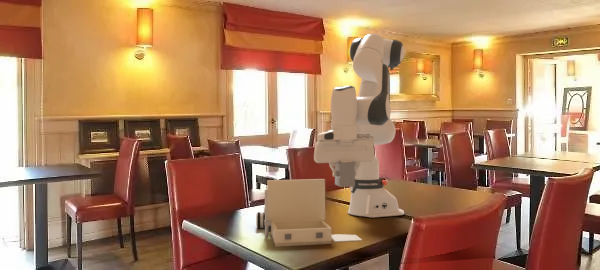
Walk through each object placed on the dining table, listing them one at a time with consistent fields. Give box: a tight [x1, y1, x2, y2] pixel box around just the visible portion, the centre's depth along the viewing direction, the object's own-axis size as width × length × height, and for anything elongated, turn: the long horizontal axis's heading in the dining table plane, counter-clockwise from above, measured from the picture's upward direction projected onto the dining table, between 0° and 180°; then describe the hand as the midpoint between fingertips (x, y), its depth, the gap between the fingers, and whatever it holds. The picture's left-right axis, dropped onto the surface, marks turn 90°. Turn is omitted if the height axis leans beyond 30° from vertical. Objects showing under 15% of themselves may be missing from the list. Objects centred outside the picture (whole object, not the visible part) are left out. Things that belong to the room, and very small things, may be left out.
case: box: [264, 178, 333, 248], centre depth 151 cm, size 21×15×19 cm
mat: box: [332, 233, 363, 243], centre depth 153 cm, size 9×9×1 cm
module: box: [334, 160, 355, 188], centre depth 153 cm, size 5×7×8 cm
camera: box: [255, 206, 271, 233], centre depth 169 cm, size 16×9×10 cm, turn 3°
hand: (344, 176), depth 153 cm, fingers closed on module, 5 cm apart
